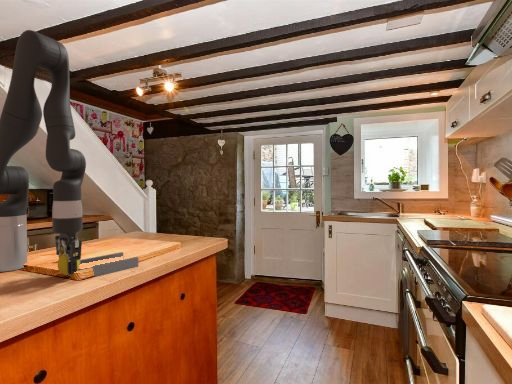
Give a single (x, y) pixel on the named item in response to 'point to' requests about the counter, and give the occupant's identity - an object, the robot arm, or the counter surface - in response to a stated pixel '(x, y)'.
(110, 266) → the guide channel
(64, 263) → the lemon
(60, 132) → the robot arm
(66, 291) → the counter surface
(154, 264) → the counter surface
